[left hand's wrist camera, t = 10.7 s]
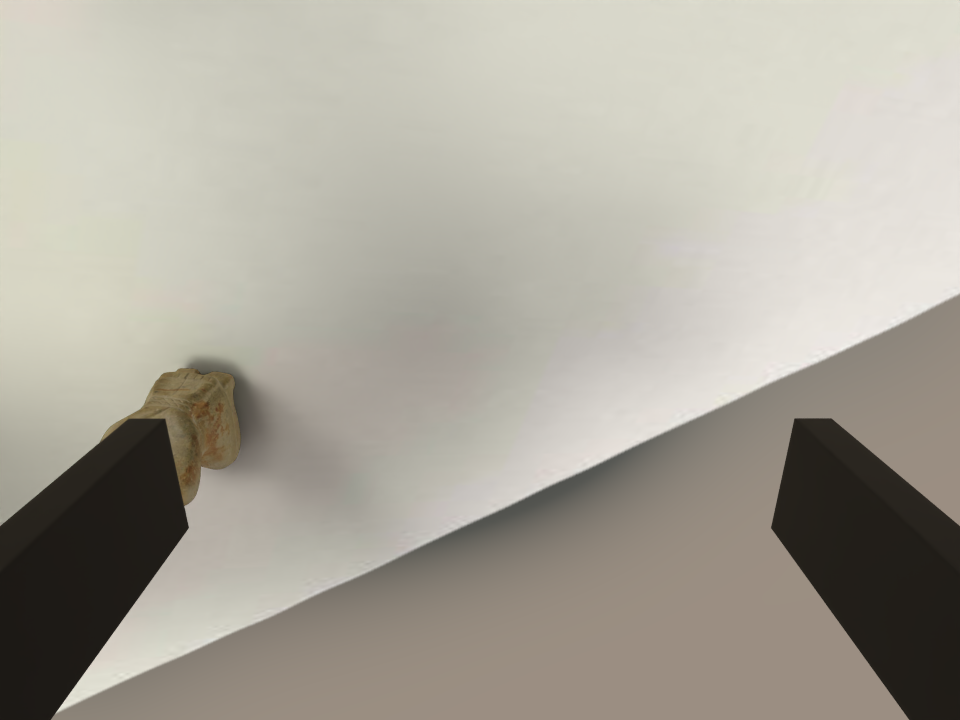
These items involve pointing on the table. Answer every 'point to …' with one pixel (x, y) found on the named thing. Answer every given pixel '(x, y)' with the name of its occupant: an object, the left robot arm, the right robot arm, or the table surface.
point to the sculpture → (194, 422)
